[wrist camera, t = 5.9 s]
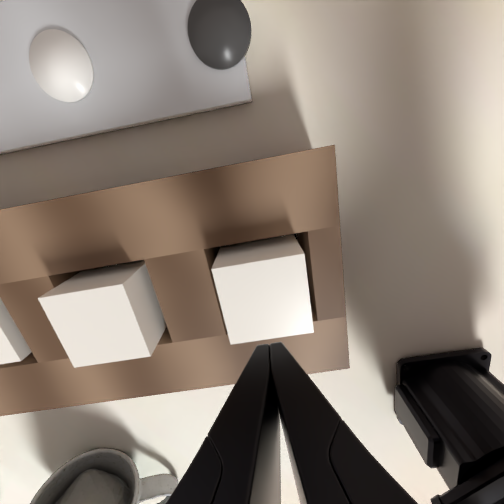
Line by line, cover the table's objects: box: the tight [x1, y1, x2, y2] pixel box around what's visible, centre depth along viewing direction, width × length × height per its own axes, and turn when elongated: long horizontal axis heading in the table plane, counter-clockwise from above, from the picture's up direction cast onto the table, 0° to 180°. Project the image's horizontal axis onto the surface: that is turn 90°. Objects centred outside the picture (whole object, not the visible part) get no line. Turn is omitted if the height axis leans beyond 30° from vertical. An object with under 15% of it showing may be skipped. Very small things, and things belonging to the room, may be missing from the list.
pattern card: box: [0, 0, 252, 154], centre depth 13 cm, size 19×6×1 cm, turn 100°
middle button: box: [38, 261, 167, 368], centre depth 13 cm, size 4×4×3 cm
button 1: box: [211, 235, 314, 345], centre depth 13 cm, size 4×4×3 cm
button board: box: [0, 145, 350, 416], centre depth 15 cm, size 24×12×4 cm, turn 100°
